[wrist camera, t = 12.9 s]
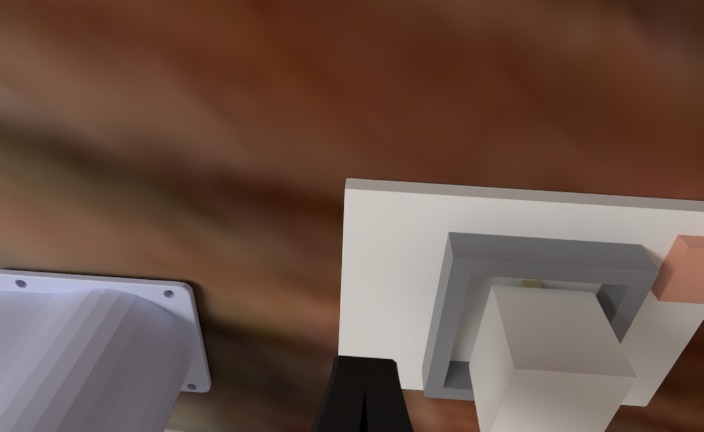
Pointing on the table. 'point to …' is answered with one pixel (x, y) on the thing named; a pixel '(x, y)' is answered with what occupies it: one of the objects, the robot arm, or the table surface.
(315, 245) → the table surface
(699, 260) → the socket plate
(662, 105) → the table surface
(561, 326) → the plug
